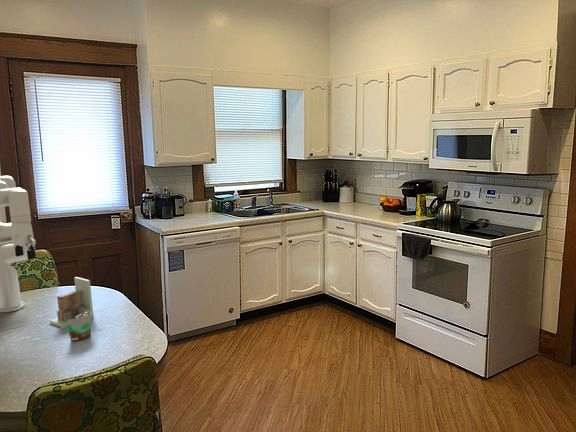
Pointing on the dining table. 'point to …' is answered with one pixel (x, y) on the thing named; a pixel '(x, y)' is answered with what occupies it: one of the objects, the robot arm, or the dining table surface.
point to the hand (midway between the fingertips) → (25, 257)
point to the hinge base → (86, 302)
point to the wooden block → (69, 303)
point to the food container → (80, 326)
